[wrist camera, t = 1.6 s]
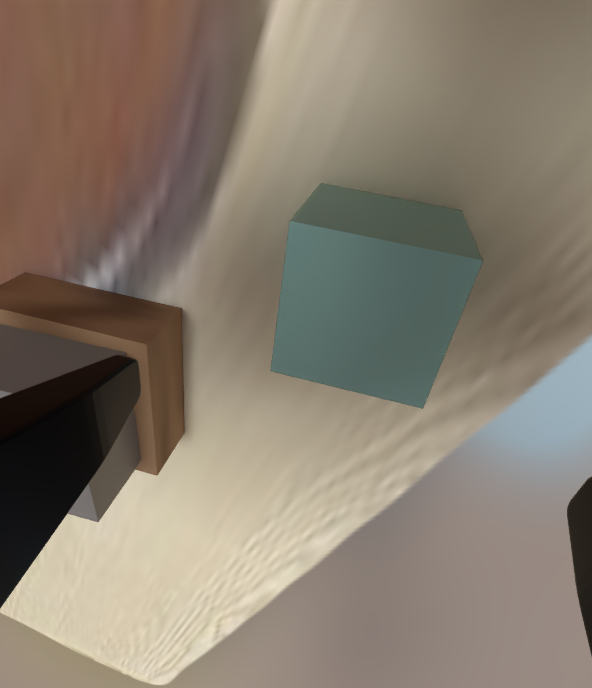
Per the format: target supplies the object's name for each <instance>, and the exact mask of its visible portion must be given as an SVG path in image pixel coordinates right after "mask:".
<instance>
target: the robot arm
mask: <svg viewBox="0 0 592 688" xmlns="http://www.w3.org/2000/svg"><path fill="white" fill-rule="evenodd" d="M140 394H141V382H140V371H139V363H138V361H137V360H136V359H135V358H132V357H128V356H124V355H114V356H111V357H109V358H106V359H103V360H101V361H98V362H95V363H93V364H90V365H87V366H85V367H82V368H79V369H76V370H74V371H71V372H68V373H66V374H63V375H60V376H58V377H55V378H52V379H50V380H47V381H44V382H42V383H39V384H36V385H34V386H31V387H28V388H26V389H23V390H20V391H18V392H15V393H12V394H10V395H7V396H4V397H2V398H0V608H1V607H2V605H3V604H4V602H5V601H6V600H7V598H8V597H9V595H10V594H11V593H12V591H13V590H14V588H15V587H16V585H17V584H18V583H19V581H20V580H21V578H22V577H23V576H24V574H25V573H26V571H27V570H28V569H29V567H30V566H31V564H32V563H33V561H34V560H35V559H36V557H37V556H38V554H39V553H40V552H41V550H42V549H43V547H44V546H45V544H46V543H47V542H48V540H49V539H50V537H51V536H52V535H53V533H54V532H55V530H56V529H57V527H58V526H59V525H60V523H61V522H62V520H63V519H64V518H65V516H66V515H67V513H68V512H69V510H70V509H71V508H72V506H73V505H74V503H75V502H76V501H77V499H78V498H79V496H80V495H81V494H82V492H83V491H84V489H85V488H86V486H87V485H88V484H89V482H90V481H91V479H92V478H93V477H94V475H95V474H96V472H97V471H98V469H99V468H100V466H101V465H102V463H103V462H104V460H105V459H106V457H107V455H108V454H109V452H110V450H111V449H112V447H113V445H114V443H115V441H116V440H117V438H118V436H119V434H120V432H121V430H122V429H123V427H124V425H125V423H126V421H127V420H128V418H129V416H130V414H131V412H132V411H133V409H134V407H135V405H136V403H137V402H138V400H139V397H140ZM567 518H568V526H569V534H570V542H571V550H572V557H573V565H574V573H575V581H576V587H577V594H578V598H579V604H580V608H581V613H582V617H583V621H584V626H585V630H586V634H587V638H588V642H589V646H590V651H591V655H592V477H590V478H588V479H587V481H586V482H585V483H584V484H583V486H582V487H581V488H580V490H579V491H578V492H577V493H576V494H575V495H574V497H573V498H572V499H571V501H570V502H569V505H568V508H567Z"/></svg>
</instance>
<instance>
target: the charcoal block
mask: <svg viewBox="0 0 592 688" xmlns="http://www.w3.org/2000/svg"><path fill="white" fill-rule="evenodd" d="M114 355H124V356H127V355H126V352H122V351H118V350H114V349H109V348H105V347H100V346H96V345H92V344H87V343H83V342H78V341H74V340H70V339H65V338H61V337H56V336H52V335H48V334H43V333H39V332H34V331H30V330H26V329H21V328H17V327H12V326H8V325H4V324H0V398H2V397H4V396H7V395H10V394H12V393H15V392H18V391H20V390H23V389H26V388H28V387H31V386H34V385H36V384H39V383H42V382H44V381H47V380H50V379H52V378H55V377H58V376H60V375H63V374H66V373H68V372H71V371H74V370H76V369H79V368H82V367H85V366H87V365H90V364H93V363H95V362H98V361H101V360H103V359H106V358H109V357H111V356H114ZM140 462H141V455H140V448H139V441H138V434H137V426H136V419H135V412H134V409H133V411H132V412H131V414H130V416H129V418H128V420H127V421H126V423H125V425H124V427H123V429H122V430H121V432H120V434H119V436H118V438H117V440H116V441H115V443H114V445H113V447H112V449H111V450H110V452H109V454H108V455H107V457H106V459H105V460H104V462H103V463H102V465H101V466H100V468H99V469H98V471H97V472H96V474H95V475H94V477H93V478H92V479H91V481H90V482H89V484H88V485H87V486H86V488H85V489H84V491H83V492H82V494H81V495H80V496H79V498H78V499H77V501H76V502H75V503H74V505H73V506H72V508H71V509H70V510H69V512H68V514H71V515H75V516H78V517H82V518H85V519H89V520H92V521H96V522H99V520H100V519H101V518H102V516H103V515H104V513H105V512H106V510H107V509H108V508H109V506H110V505H111V503H112V502H113V500H114V499H115V497H116V496H117V495H118V493H119V492H120V490H121V489H122V487H123V486H124V485H125V483H126V482H127V480H128V479H129V477H130V476H131V474H132V473H133V472H134V470H135V469H136V467H137V466H138V464H139V463H140Z"/></svg>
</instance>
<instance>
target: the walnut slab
mask: <svg viewBox="0 0 592 688" xmlns="http://www.w3.org/2000/svg"><path fill="white" fill-rule="evenodd" d="M0 324H4V325H8V326H12V327H17V328H21V329H26V330H30V331H34V332H39V333H43V334H48V335H52V336H56V337H61V338H65V339H70V340H74V341H78V342H83V343H87V344H92V345H96V346H100V347H105V348H109V349H114V350H118V351H122V352H126V355H127V356H128V357H132V358H135V359H136V360H137V361H138V363H139V371H140V382H141V394H140V397H139V400H138V402H137V403H136V405H135V407H134V412H135V419H136V426H137V434H138V441H139V448H140V455H141V462H140V463H139V464H138V466H137V467H136V469H135V470H139V471H143V472H146V473H150V474H153V475H158V474H159V472H160V471H161V469H162V467H163V466H164V464H165V463H166V461H167V459H168V458H169V456H170V455H171V453H172V451H173V450H174V448H175V447H176V445H177V443H178V442H179V440H180V439H181V437H182V435H183V434H184V390H183V347H182V308H177V307H173V306H169V305H164V304H160V303H156V302H151V301H147V300H143V299H138V298H134V297H130V296H125V295H121V294H117V293H112V292H108V291H104V290H99V289H95V288H91V287H86V286H82V285H77V284H73V283H69V282H64V281H60V280H56V279H51V278H47V277H43V276H38V275H34V274H30V273H23V274H21V275H19V276H17V277H15V278H13V279H11V280H10V281H8V282H6V283H4V284H2V285H0Z"/></svg>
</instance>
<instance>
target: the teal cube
mask: <svg viewBox="0 0 592 688" xmlns="http://www.w3.org/2000/svg"><path fill="white" fill-rule="evenodd" d="M482 262H483V259H482V257H481V254H480V252H479V250H478V247H477V245H476V243H475V240H474V238H473V236H472V234H471V231H470V229H469V227H468V224H467V222H466V220H465V217H464V215H463V213H462V210H457V209H452V208H446V207H441V206H436V205H431V204H426V203H421V202H415V201H410V200H405V199H400V198H395V197H390V196H384V195H379V194H374V193H369V192H364V191H359V190H353V189H348V188H343V187H338V186H333V185H327V184H322V183H321V184H320V185H319V186H318V187H317V189H316V190H315V191H314V192H313V193H312V195H311V196H310V197H309V198H308V199H307V201H306V202H305V203H304V204H303V205H302V207H301V208H300V209H299V210H298V211H297V213H296V214H295V215H294V216H293V217H292V219H291V220H290V223H289V231H288V238H287V246H286V254H285V262H284V270H283V277H282V285H281V293H280V301H279V309H278V316H277V324H276V332H275V340H274V348H273V356H272V363H271V371H272V372H276V373H280V374H284V375H288V376H292V377H297V378H301V379H305V380H309V381H313V382H317V383H321V384H325V385H329V386H333V387H337V388H341V389H345V390H349V391H353V392H357V393H361V394H365V395H369V396H374V397H378V398H382V399H386V400H390V401H394V402H398V403H402V404H406V405H410V406H414V407H418V408H422V409H423V408H424V405H425V403H426V400H427V398H428V395H429V393H430V390H431V388H432V385H433V383H434V380H435V378H436V375H437V373H438V371H439V368H440V366H441V363H442V361H443V358H444V356H445V353H446V351H447V348H448V346H449V343H450V341H451V338H452V336H453V334H454V331H455V329H456V326H457V324H458V321H459V319H460V316H461V314H462V311H463V309H464V306H465V304H466V301H467V299H468V297H469V294H470V292H471V289H472V287H473V284H474V282H475V279H476V277H477V274H478V272H479V269H480V267H481V265H482Z"/></svg>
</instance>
